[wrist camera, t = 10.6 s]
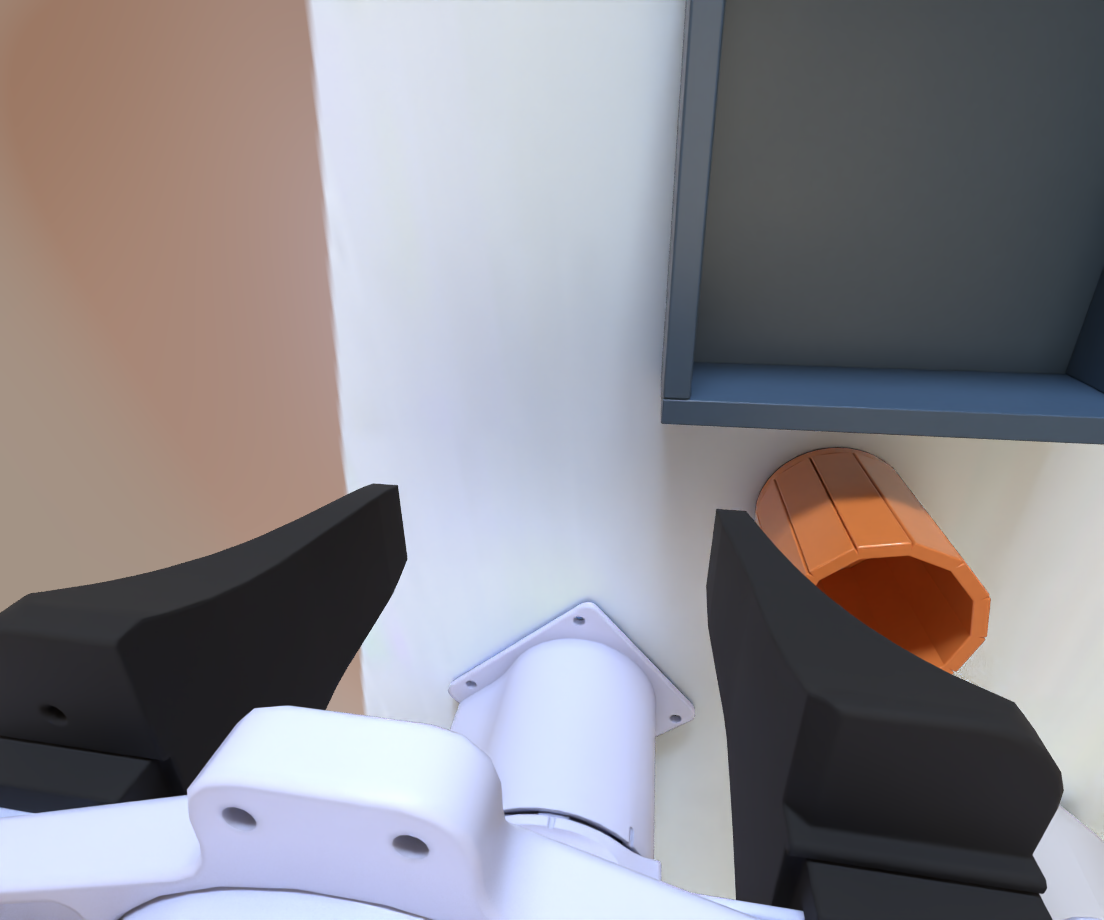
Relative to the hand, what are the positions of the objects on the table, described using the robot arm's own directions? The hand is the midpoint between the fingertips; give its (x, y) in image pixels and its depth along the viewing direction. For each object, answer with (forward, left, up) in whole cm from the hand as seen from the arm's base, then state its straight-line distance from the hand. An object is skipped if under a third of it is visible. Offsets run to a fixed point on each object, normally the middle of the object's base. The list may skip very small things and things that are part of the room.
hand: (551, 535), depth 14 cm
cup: (+4, -10, -10) cm, 15 cm away
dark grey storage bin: (+12, -1, -10) cm, 16 cm away
